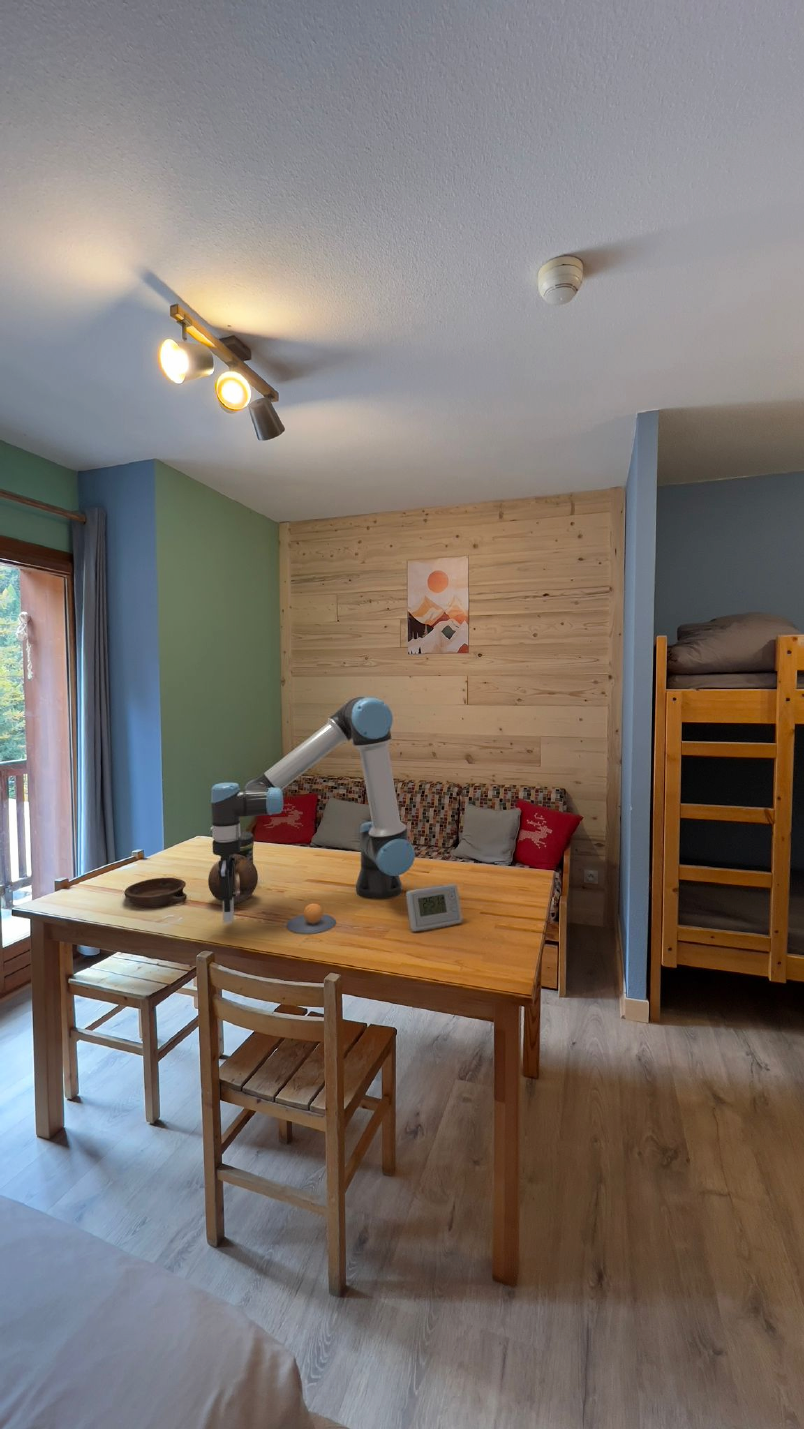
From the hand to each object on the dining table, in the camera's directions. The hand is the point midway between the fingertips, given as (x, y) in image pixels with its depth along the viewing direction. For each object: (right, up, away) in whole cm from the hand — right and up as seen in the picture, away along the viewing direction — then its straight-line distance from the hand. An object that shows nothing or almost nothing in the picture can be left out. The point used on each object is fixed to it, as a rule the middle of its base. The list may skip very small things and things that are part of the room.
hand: (228, 921), depth 167 cm
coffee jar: (-6, 0, +34) cm, 34 cm away
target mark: (+23, -2, +2) cm, 23 cm away
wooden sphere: (-4, -1, +20) cm, 20 cm away
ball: (+23, +1, +3) cm, 24 cm away
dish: (-29, -2, +22) cm, 37 cm away
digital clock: (+58, -2, +1) cm, 58 cm away
